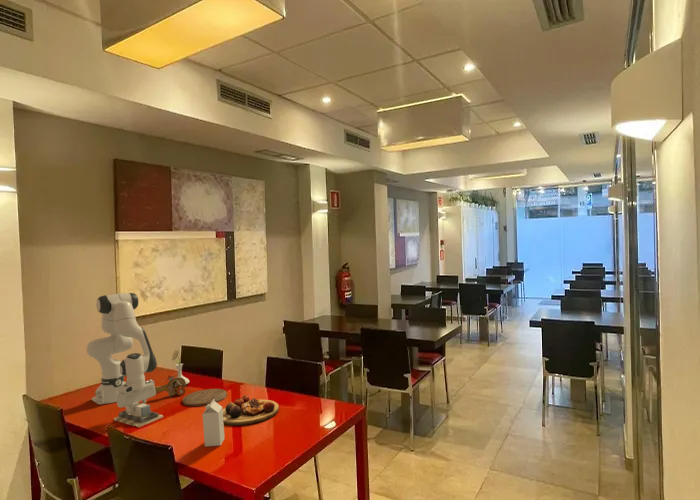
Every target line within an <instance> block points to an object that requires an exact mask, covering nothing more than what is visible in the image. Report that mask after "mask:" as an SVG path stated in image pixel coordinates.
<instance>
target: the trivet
mask: <svg viewBox="0 0 700 500" xmlns="http://www.w3.org/2000/svg"><path fill="white" fill-rule="evenodd" d="M227 396H228V394H227V390H224V389H223V388H209V389H208V388H207V389H201V390H197V391H193V392H191V393H189V394H187V395H185V396H184V397H183V398H182V404H183V405H184V406H187V407H192V406H195V407H196V406H197V407H205V406H204V405H206V406H207V405H208V404H209V405H210V403H211V402H212V401H213V399H214V400H215V402H216V403H219V402H221V401H223V400H225V399H226V398H227ZM195 407H194V408H195ZM197 407H196V408H197Z"/></svg>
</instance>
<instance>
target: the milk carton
mask: <svg viewBox="0 0 700 500" xmlns="http://www.w3.org/2000/svg"><path fill="white" fill-rule="evenodd" d="M204 409H205V410H204V412H203V413H202V424H203V425H202V426H203V427H202V429H203V439H204V440H203V441H204V447H206V448H207V447H218V446H221V445H222V444H223V442H224V440H225V424H224V423H223V409H224V408H223V406H222V405H220V404H219V402H217V403H216V402H215V400H214V399H213V401H212V402H211V403H210V405H209V404H208V405H206V406H204Z"/></svg>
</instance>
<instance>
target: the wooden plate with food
mask: <svg viewBox="0 0 700 500" xmlns="http://www.w3.org/2000/svg"><path fill="white" fill-rule="evenodd" d="M241 397H242V398H237V399H235V400H234V401H233V402H232V401H230V402H228V403H227V405H225V407H223V408H222V409H223V423H224V425H228V426H244V425H251V424H255V423H256V424H257V423H260V422H263V421H266V420H268V419H270V418H272V417H273V416H274V415H275V416H276V415H277V413H278V412H279V410H280V405H279V403H277V402H276V401H274V400H270V399H257V398H255V397H252V398H251V400H250V397H249V395H247V394H246V395H243V396H241Z"/></svg>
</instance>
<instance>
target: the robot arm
mask: <svg viewBox="0 0 700 500" xmlns="http://www.w3.org/2000/svg"><path fill="white" fill-rule="evenodd" d="M139 302H140V301H139V297H138V295H137V293H135V292H128V293H127V292H125V293H124V292H123V293H122V292H120V293H112V294H108V295H105V294H104V295H101V296H98V298H97V300H96V307H95V308H96V309H97V311H98V313H100V314H102V315H101V330H102V331H103V332H104V333H107V334H109V335H110V336H107V337H102V338H96V339H94V340H91V341H89V342H88V344H87V346H86V353H87V354H88V356H89V357H91V358H92V359H95V360H96V361H97V362H98V363H99V365H100V367H101V369H100V370H101V375H102V378H100V385H99V386H98V387H97V388H96V390H95V392H94V395H95V396H93V397H92V398H91V401H92V402H94V403H96V404H97V405H105V404H112V403H116V406H117V407H118V408H126V406H129V407H130V409H131V412H135V408H133V407H132V406H133V404H134V403H137V402H138V403H140V402H142V404H146V403H147V400H148V399H150V398H153V397H155V396H156V395H157V393H156V390H155V380H153V379H148V380H146V376H145V374H147V373H152V372H153V371H154V370H155V369H156V368H157V366H158V361H157V358H156V356H155V353H154V351H153V349H152V347H151V344H150V341H149V338H148V335H147V333H146V330H145V328H144V327H143V326H140V325H139V324H138V321H137V319H136V317H137V316H136V314H135V313H136V312H135V310H137V308H138V306H139ZM133 339H135V340H137V341H138V342H139V344H140V346H141V349H142V353H143V355H142V354H141V353H138V352H137V353H136V352H134V353H130V354H127V356H126V357H125V358H124V359H122V361H120V360H119V359H117V358H116V359H115V358H113V357H112V355H115V354H119V353H122V352H126V351H128V350H131V349H132V347H133V344H134V340H133ZM125 377H126V381H125Z"/></svg>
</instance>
